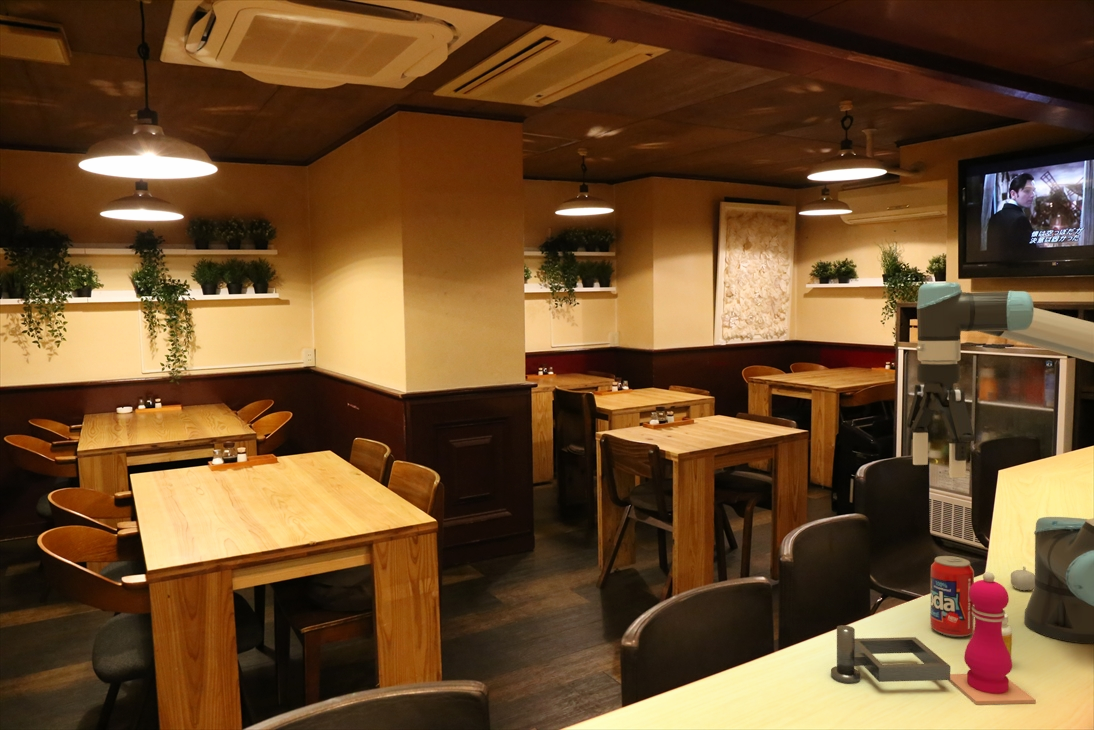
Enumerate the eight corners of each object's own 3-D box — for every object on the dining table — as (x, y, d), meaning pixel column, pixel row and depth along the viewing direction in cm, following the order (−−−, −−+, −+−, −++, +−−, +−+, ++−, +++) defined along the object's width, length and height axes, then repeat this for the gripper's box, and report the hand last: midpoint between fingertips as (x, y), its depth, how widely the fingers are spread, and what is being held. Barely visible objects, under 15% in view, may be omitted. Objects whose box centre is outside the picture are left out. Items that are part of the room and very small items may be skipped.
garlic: (1017, 583, 188) (1018, 562, 187) (1041, 589, 183) (1042, 568, 183) (1004, 588, 184) (1005, 567, 184) (1028, 595, 180) (1029, 573, 180)
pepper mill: (1018, 697, 130) (1020, 580, 129) (971, 693, 132) (973, 578, 131) (1002, 677, 137) (1003, 566, 136) (958, 674, 139) (959, 564, 138)
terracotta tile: (999, 676, 139) (999, 672, 139) (1035, 703, 129) (1035, 699, 129) (944, 677, 139) (944, 674, 139) (976, 704, 129) (976, 701, 129)
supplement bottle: (971, 660, 146) (971, 610, 146) (992, 655, 148) (993, 606, 147) (996, 672, 141) (997, 620, 140) (1018, 667, 143) (1019, 616, 142)
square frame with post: (915, 660, 146) (915, 613, 146) (950, 691, 134) (950, 640, 134) (819, 662, 146) (819, 615, 146) (845, 694, 134) (845, 642, 133)
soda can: (982, 637, 157) (983, 564, 156) (949, 641, 155) (950, 567, 154) (953, 622, 164) (954, 553, 163) (921, 627, 162) (922, 556, 161)
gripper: (889, 360, 163) (889, 460, 164) (955, 366, 138) (954, 484, 139) (924, 359, 163) (924, 459, 165) (996, 365, 139) (995, 482, 140)
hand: (938, 470), depth 152 cm, fingers open, 13 cm apart
